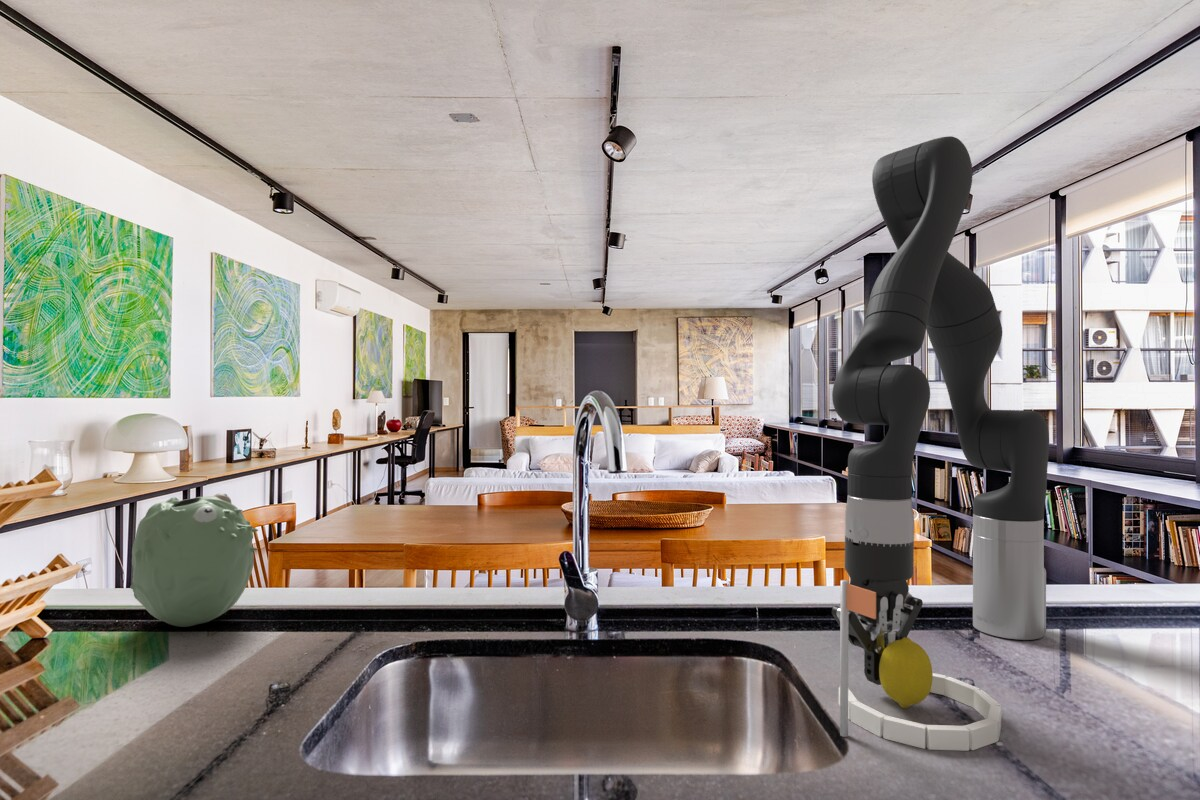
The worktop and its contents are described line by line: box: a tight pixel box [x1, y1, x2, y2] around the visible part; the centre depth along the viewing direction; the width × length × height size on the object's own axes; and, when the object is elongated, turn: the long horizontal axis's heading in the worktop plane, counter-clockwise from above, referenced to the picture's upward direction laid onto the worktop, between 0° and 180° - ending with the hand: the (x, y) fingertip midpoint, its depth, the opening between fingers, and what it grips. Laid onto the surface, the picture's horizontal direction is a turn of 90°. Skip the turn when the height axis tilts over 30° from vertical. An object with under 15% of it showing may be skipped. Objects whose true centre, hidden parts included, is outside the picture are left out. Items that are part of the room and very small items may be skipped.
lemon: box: [879, 636, 934, 709], centre depth 78 cm, size 6×6×8 cm
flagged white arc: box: [838, 579, 1002, 752], centre depth 75 cm, size 19×14×16 cm
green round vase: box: [129, 493, 259, 628], centre depth 107 cm, size 16×19×20 cm
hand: (877, 681), depth 82 cm, fingers closed
